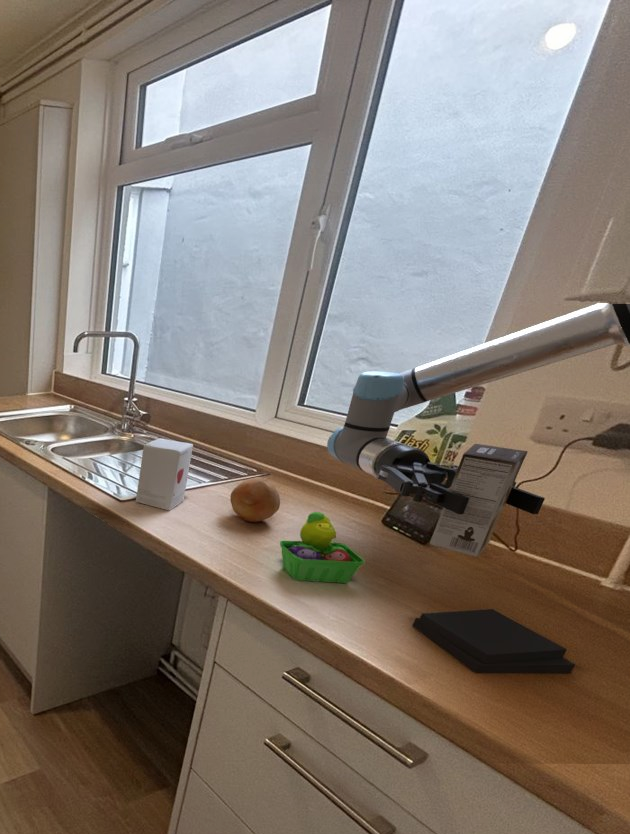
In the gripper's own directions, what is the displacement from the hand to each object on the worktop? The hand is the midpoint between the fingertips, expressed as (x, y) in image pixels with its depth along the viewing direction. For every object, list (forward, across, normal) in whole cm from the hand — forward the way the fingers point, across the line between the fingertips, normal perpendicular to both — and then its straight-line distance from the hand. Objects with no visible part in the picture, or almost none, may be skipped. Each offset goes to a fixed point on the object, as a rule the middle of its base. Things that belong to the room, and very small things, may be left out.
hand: (501, 506), depth 81 cm
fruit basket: (-10, +18, -18) cm, 28 cm away
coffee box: (-4, 0, -9) cm, 10 cm away
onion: (-35, +18, -18) cm, 43 cm away
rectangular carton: (-46, +34, -18) cm, 60 cm away
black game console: (+12, +6, -18) cm, 22 cm away
